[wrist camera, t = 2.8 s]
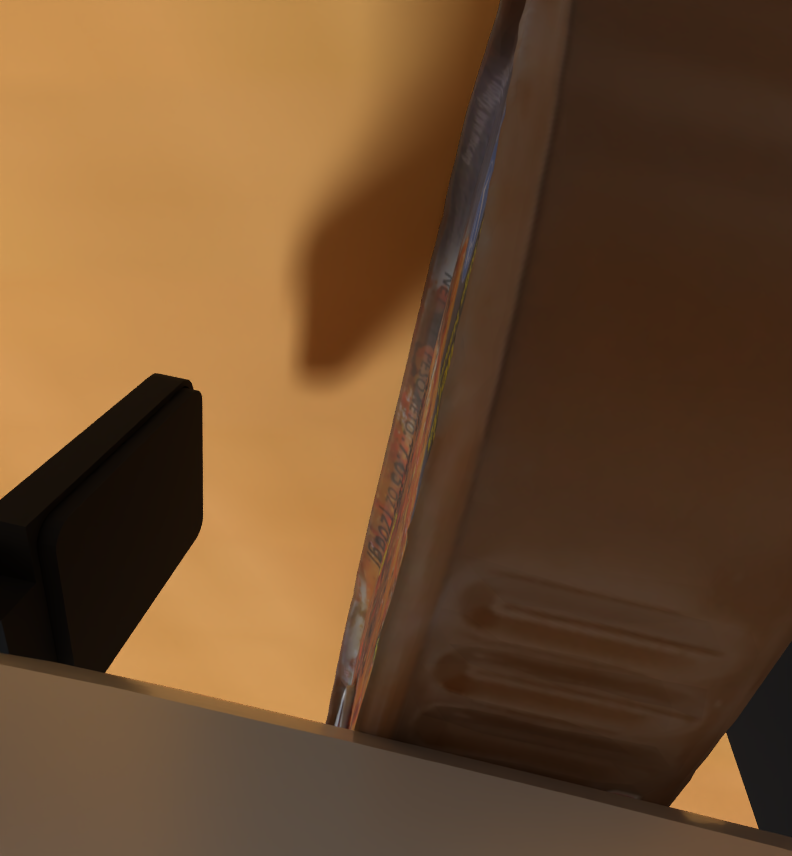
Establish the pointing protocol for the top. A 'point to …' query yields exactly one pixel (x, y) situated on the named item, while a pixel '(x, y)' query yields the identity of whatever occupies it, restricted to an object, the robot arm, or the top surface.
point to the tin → (594, 407)
